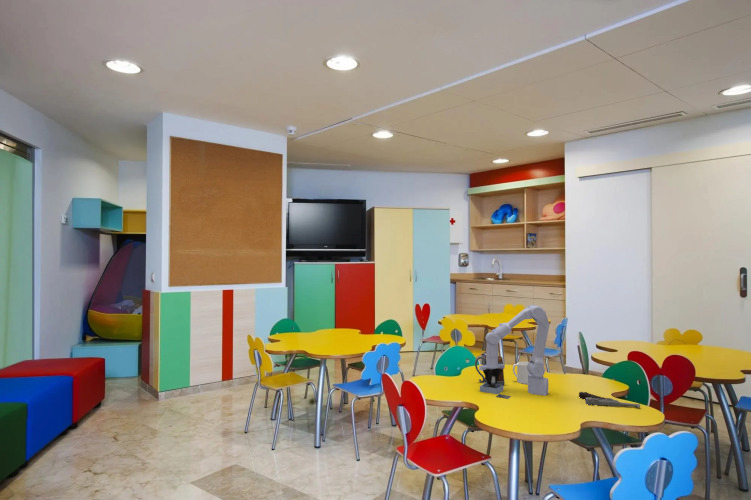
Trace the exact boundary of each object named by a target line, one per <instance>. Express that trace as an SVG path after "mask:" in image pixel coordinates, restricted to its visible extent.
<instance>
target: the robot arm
mask: <svg viewBox="0 0 751 500" xmlns="http://www.w3.org/2000/svg"><path fill="white" fill-rule="evenodd" d="M525 320H534V322H535V323H536V324H537V330H536V333H535V334H536V335H535V341H534V345H533V351H532V356H531V357H530V358H529V359H530V360H529V361H528V362H529V363H528V365H527V369H528V371H529V374H528V385H527V393H529V394H531V395H537V396H538V395H539V396H544V397H545V396H547V395H548V394H549V378H548V377H544V375H545V370H546V369H545V367H544V366H545V362H544V356H545V349H546V345H547V339H548V335H549V329H550V321H549V318H548V316H547V312H546V311H545V310H544V309H543V308H542V307H541V306H540V305H539V306H538V305H535V304H531V305H528V306H527V307H525V308H524V309H522V310H521V311H520V312H519V313H517V314H516V315H515V316H513V317H512V318H511V319H510V320H509V321H508V322H503V323H501V322H500V323H499V325H498V326H497V327H496V328H494V329H492V330H491V331H490V332H487V334H486V335H485V341H486V351H485V353H486V355H485V357H486V358H485V359H486V365H483V364H482V365H479V366H478V370H479V371H480V372H481V371H482V372H483V375H484V378H485V377H486V380H487V384H489V385H491V378H492V375H494V376H495V384H497V380H498V377H499V375H500V373H501V370H500V368H503V370H504V369H505V364H504V363H503V364H498V356H499V343H500V341H501V340H502V339H503V338H505V337H506V336H507V335H509V334H511V332H512V329H513V328H514V327H516V326H518V324H520V323H522V322H523V321H525ZM490 369H491V370H490Z"/></svg>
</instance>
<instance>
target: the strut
mask: <svg viewBox="0 0 751 500" xmlns="http://www.w3.org/2000/svg"><path fill="white" fill-rule="evenodd" d="M488 387H490V388H496V385H495V376H494V375H492V378H491V385H488Z"/></svg>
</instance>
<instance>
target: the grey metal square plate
mask: <svg viewBox="0 0 751 500" xmlns="http://www.w3.org/2000/svg"><path fill="white" fill-rule="evenodd" d="M495 398H499V399H505V400H509V399H510V398H512V395H508V394H507V395H506V394H501V393H499V394H496V396H495Z"/></svg>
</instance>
